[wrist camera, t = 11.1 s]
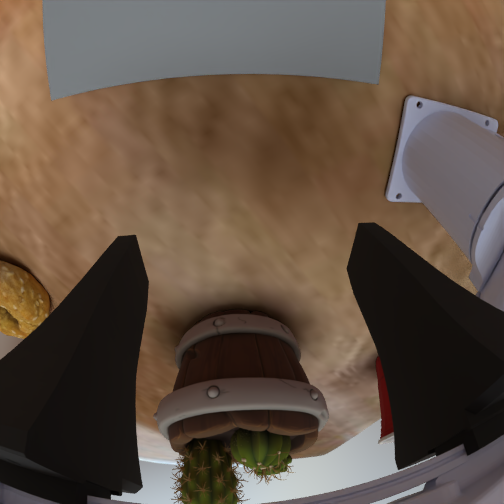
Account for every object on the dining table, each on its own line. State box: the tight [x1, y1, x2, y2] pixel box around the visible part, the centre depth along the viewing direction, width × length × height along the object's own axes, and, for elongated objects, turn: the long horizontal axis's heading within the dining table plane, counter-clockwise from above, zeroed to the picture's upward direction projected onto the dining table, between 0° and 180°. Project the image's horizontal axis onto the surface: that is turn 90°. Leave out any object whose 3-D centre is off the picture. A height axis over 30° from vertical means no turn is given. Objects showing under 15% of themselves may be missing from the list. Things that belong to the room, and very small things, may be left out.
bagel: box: [0, 260, 50, 339], centre depth 23 cm, size 10×11×5 cm
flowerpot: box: [153, 309, 329, 504], centre depth 23 cm, size 14×15×20 cm
